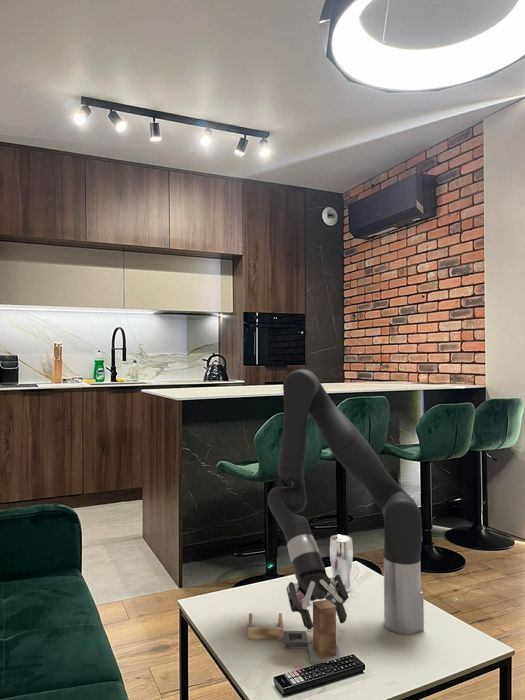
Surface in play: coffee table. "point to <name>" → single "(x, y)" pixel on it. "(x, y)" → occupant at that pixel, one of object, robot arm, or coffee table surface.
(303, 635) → the grey square frame
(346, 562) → the beer glass
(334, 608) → the walnut block
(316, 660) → the grey pad
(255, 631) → the wooden u-shaped bracket
